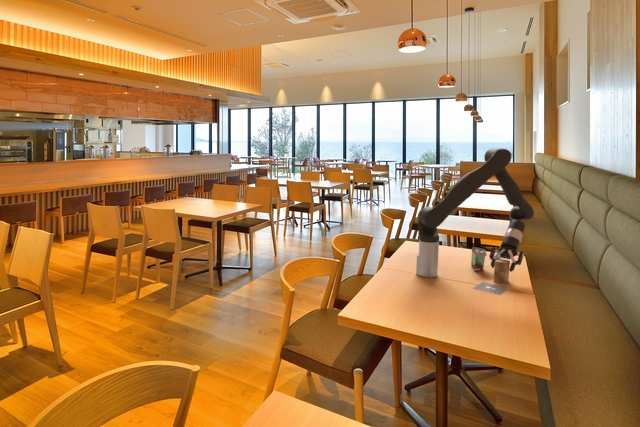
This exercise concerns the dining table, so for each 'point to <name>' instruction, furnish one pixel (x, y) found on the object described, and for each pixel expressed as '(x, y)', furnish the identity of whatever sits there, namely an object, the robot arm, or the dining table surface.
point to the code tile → (491, 288)
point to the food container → (478, 259)
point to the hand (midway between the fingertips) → (501, 268)
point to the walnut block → (501, 271)
